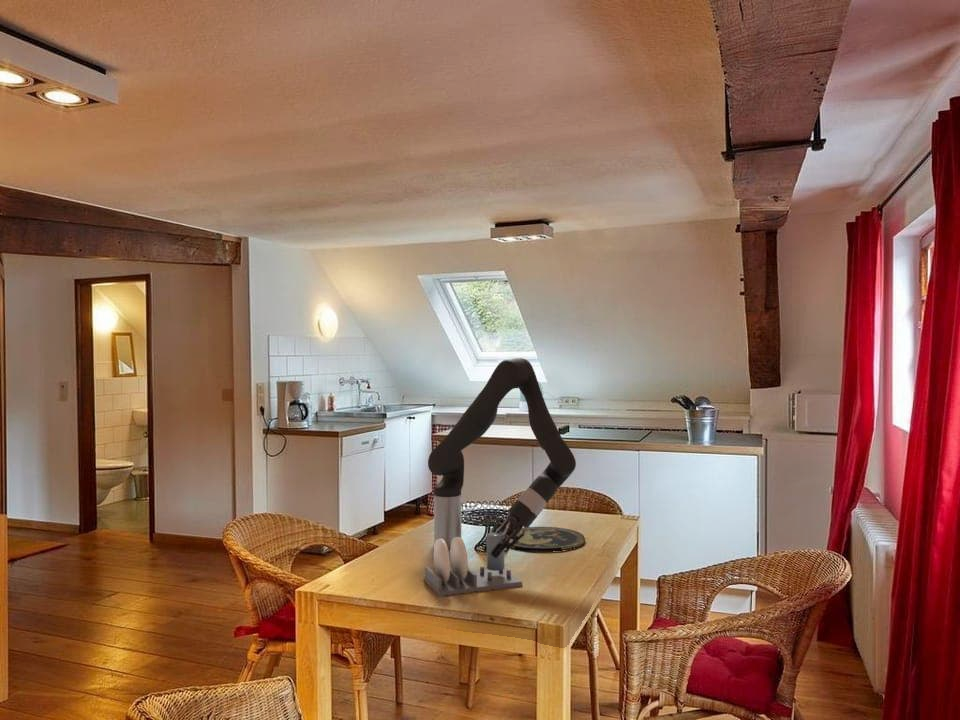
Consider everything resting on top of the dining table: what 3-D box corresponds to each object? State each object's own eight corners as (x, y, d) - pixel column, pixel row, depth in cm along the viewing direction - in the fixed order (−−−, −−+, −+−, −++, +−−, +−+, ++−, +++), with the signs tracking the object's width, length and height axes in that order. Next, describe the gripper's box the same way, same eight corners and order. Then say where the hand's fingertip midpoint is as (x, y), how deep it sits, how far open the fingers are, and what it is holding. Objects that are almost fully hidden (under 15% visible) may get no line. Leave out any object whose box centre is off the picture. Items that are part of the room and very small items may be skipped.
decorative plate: (560, 523, 266) (601, 542, 238) (560, 528, 266) (601, 547, 238) (485, 531, 256) (519, 552, 228) (485, 536, 256) (519, 558, 228)
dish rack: (423, 580, 204) (423, 534, 204) (501, 570, 213) (501, 526, 213) (439, 596, 190) (439, 547, 190) (522, 585, 199) (522, 538, 199)
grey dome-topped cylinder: (484, 566, 206) (483, 533, 205) (500, 564, 207) (500, 531, 207) (490, 571, 201) (490, 537, 201) (507, 569, 203) (506, 535, 203)
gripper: (509, 494, 213) (471, 539, 209) (529, 503, 200) (489, 551, 196) (525, 511, 215) (488, 555, 211) (546, 521, 202) (507, 568, 198)
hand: (489, 553), depth 203 cm, fingers closed on grey dome-topped cylinder, 5 cm apart
